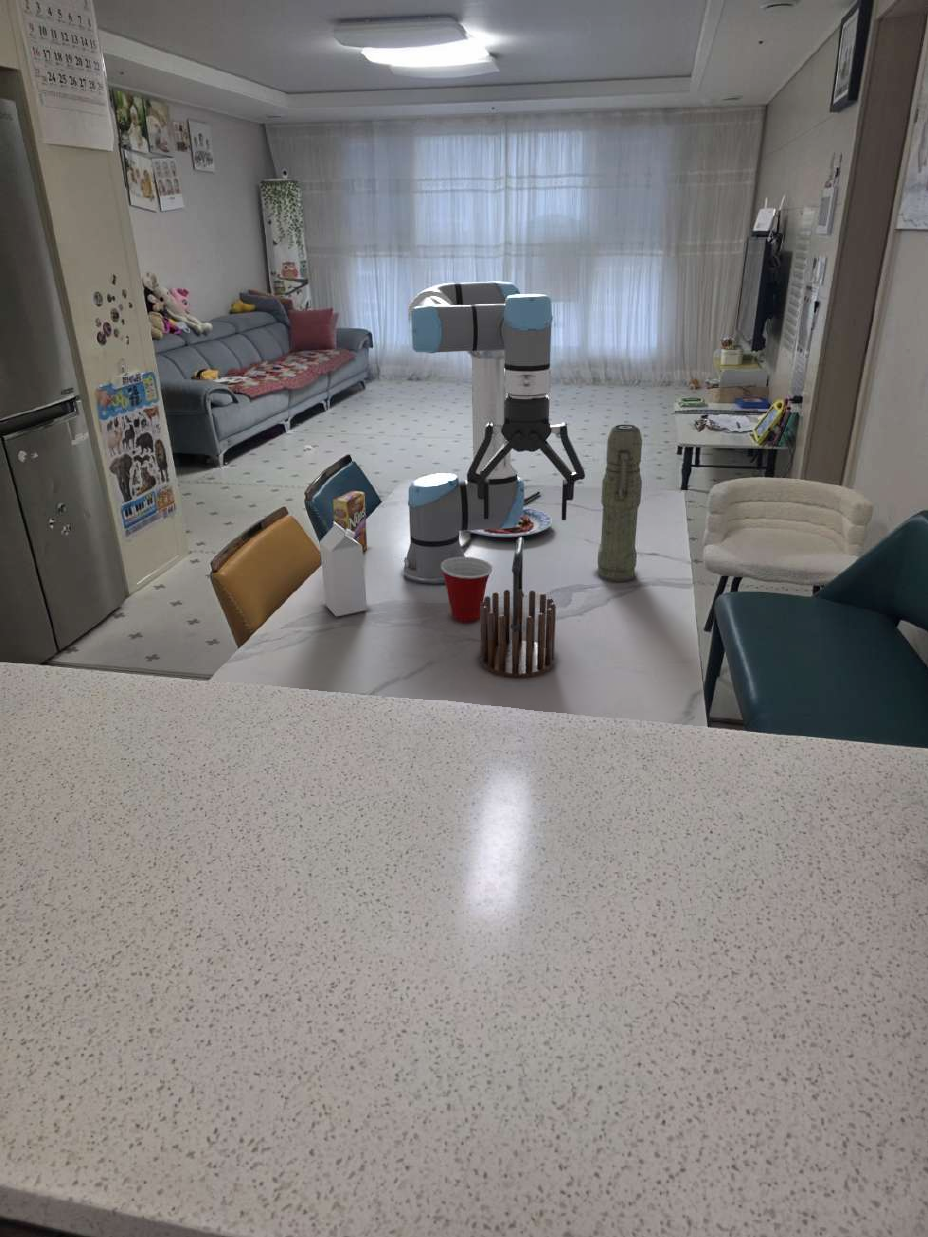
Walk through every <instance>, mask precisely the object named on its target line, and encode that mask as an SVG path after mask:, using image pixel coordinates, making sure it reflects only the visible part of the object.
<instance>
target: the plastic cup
mask: <svg viewBox="0 0 928 1237" xmlns="http://www.w3.org/2000/svg"><path fill="white" fill-rule="evenodd" d="M441 569H442V571H443V573H444V578H445V582H446V583H445V586H446V593H447V597H448V598H447V599H448V603H449V606H450V610H451V611H450V612H451V617H452V618H453V620H455V621H456V622H459V623H474V622H476V621H478V620H480V603H481V602H483V601H484V598H485V594H486V588H487V583H488V579H489V578H490V575H491V573H492V572H493V565H492V564H490V563H489V561H485V560H483V559H482V558H477V557H471V556H465V557H454V558H450V559H446V560H444V561H443V562H442V563H441Z"/></svg>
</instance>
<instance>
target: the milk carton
mask: <svg viewBox="0 0 928 1237" xmlns="http://www.w3.org/2000/svg"><path fill="white" fill-rule="evenodd" d="M332 524H333V525H332V527H331V529H329V531H327V533H326V534H325V535H324V536H323V537H322V539H320V541H319V550H320V559H321V560H320V562H321V570H322V580H323V590H324V601H325V607H327V609H329V611H330V612H331V613H332V614H333V615H334V617H337V618H338V617H342V616H346V615H351V614H355V613H360V612H364V611H368V605H367V604H368V603H367V602H368V601H367V591H366V578H365V565H364V552H363V551H364V550H362V546H361V545H360V544H359V543H358V542H357V541H355V540H354V539H353V538H354V536H355V533H353V532H352V531H350V530H349V529H346V531H345V530H344V529H343V528H342V527H340V526H339V525H338V524H337V523H336V522H335V521H334V520H333V521H332Z"/></svg>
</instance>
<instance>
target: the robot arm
mask: <svg viewBox="0 0 928 1237" xmlns="http://www.w3.org/2000/svg"><path fill="white" fill-rule="evenodd" d="M407 316H408V317H407V318H408V323H409V326H410V340H411V348H412V350H413V351H414V352H415V353H427V354H435V353H450V352H451V353H453V352H455V353H457V352H466V353H467V354H468V355H469V356H470V358H471V401H472V402H471V404H472V407H471V408H472V409H471V410H472V445H473V446H472V462H471V464H470V466H469V468H468V470H467V471H466V480H460V479H459V477H458V475H456V474H455V473H450V472H449V473H446V472H440V473H434V474H429V475H424V476H422V477H419V478H417V479H415V480H414V481H412V482H411V484H410V485H409V486H408V500H407V506H408V511H409V514H408V515H409V516H408V517H409V536H410V542H409V547H408V551H407V554H406V556H404V559H403V563H404V567H403V572H404V576H405V577H406V578H407V579H409V580H410V581H413V582H416V583H421V584H426V585H427V584H428V585H436V584H437V585H440V584H446V582H445V578H444V573H443V571H442V569H441V563H442V562H443V561H444V560H446V559H450V558H454V557H466V555H465V554H464V550H465V549H466V548H467V547H468V545H469V544H470V542H471V541H472V540H473V537H474V535H475V533H472V532H470V533H469V536H468V538H467V539H466V541H465V542H464V543H463V544H462V545H461V542H460V532H465V531H467V532H469V531H468V530H488V529H497V530H500V529H504V528H513V527H515V526H516V525H517V524H518V523H519V521H520V519H521V515H522V511H523V507H524V505H525V503H527V502H529V501H530V500H532V499H535V497H537V496H539V495H540V494H541V491H539V490H538V491H536V492H534V493H533V494H531V495H529V496H528V497H526V498H525V483H524V479H522V478H521V477H518V470H516V469H515V468H514V467H513V466H512V463H511V451H512V450H514V451H516V452H518V453H520V452H525V451H526V452H530V453H535V452H537V451H538V450H540V451H541V452H542V454H543V455H545V456H546V458H547V459H548V460H549V461H550V462H551V464H552V465H553V466H554V467H555V469H557V471H558V472H559V473H560V474H561V476H562V477H563V478H564V479H562V489H561V492H562V494H561V521H567V505H568V501H573V500H574V497H575V496H574V495H575V493H574V492H575V483H576V482H577V481H579V480H581V481H582V480H584V479H585V478H586V472H585V470H584V467H583V465H582V462H581V461H580V459H579V456H578V454H577V452H576V450H575V448H574V446H573V444H572V441H571V438H570V437H569V434H568V425H567V423H566V422H560V424H554V425H551V423H550V399H551V398H550V397H549V395H547V394H549V393H550V392H551V352H552V351H551V350H552V349H551V348H552V323H553V318H554V316H553V314H552V300H551V298H550V296H549V295H547V294H540V293H527V294H526V293H524V294H521V292H520V289H519V287H518V286H517V285H516V284H515V283H513V282H509V281H497V280H494V281H478V282H476V281H475V282H447V283H440V284H436V285H434V286H430V287H428V288H426V289H424V290H422V291H420V292H418V293H417V294H416V295H415V296H414V297H413V298H412V300H411V301H410V303H409V306H408V311H407ZM552 433H553V434H554V435H555V437H556V438H557V439H560V442H561V444H562V446H563V449H564V451H565V453H566V455H567V457H568V460H569V461H570V464H571V466H572V468H573V470H574V471H573V472H572V470H571V469H570V468H569V467H568V466H567V464H566V463H565V462H564V461H563V460H562V459H561V457H560V456H559V455H558V453H557V452H556V451H555V450H554V449H553V447H552V446H551V445H550V443H549V442H548V441H547V440H548V439H549V437H550V436H551V435H552Z"/></svg>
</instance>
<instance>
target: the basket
mask: <svg viewBox="0 0 928 1237" xmlns="http://www.w3.org/2000/svg"><path fill="white" fill-rule="evenodd" d="M524 545H525V539H524V538H523V537H522V536H519V537H517V539H516V544H515V549H514V555H513V559H512V560H513V561H512V567H511V572H512V623H511V619H510V618H511V592H510V590H509V589H504V590H503V614H501V615H500V616H499V614H500V613H499V612H500V611H499V608H500V606H499V604H500V602H499V600H500V599H499V593H498V592H497V591H494V592H493V593H492V595H491V597H490V596H489V595H485V596H484V599H483V602H481V603H480V618H479V620H480V621H479V622H480V624H479V625H480V661H481V664H482V666H483V667H484V668H485V669H486V670H487V671H489V672H490V673H493V674H495V675H498V676H500V677H501V676H502V677H508V678H529V677H535V676H538V675H542V674H544V673H546V672H547V671H548V670H550V669H551V668H552V666H553V665H554V660H555V642H556V616H557V615H556V611H557V605H556V604H555V603H554V599H553V598H551V597H549V598H547V595H546V593H540V595H539V614H538V615H537V642H535V640H536V639H535V638H536V637H535V635H536V591H535V590H529V593H528V616H527V617H526V619H525V640H523V617H524V616H523V614H524V612H523V610H524V608H523V607H524V606H523V605H524V600H523V599H524V598H525V593H524V591H523V572H524V571H523V570H524V568H523V567H524V566H523V565H524V563H523V562H524V561H523V560H524ZM491 605H492V607H491ZM491 608H492V610H491ZM510 630H511V631H510ZM510 634H512V635H510ZM510 637H512V638H510ZM511 639H512V640H511Z"/></svg>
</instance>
